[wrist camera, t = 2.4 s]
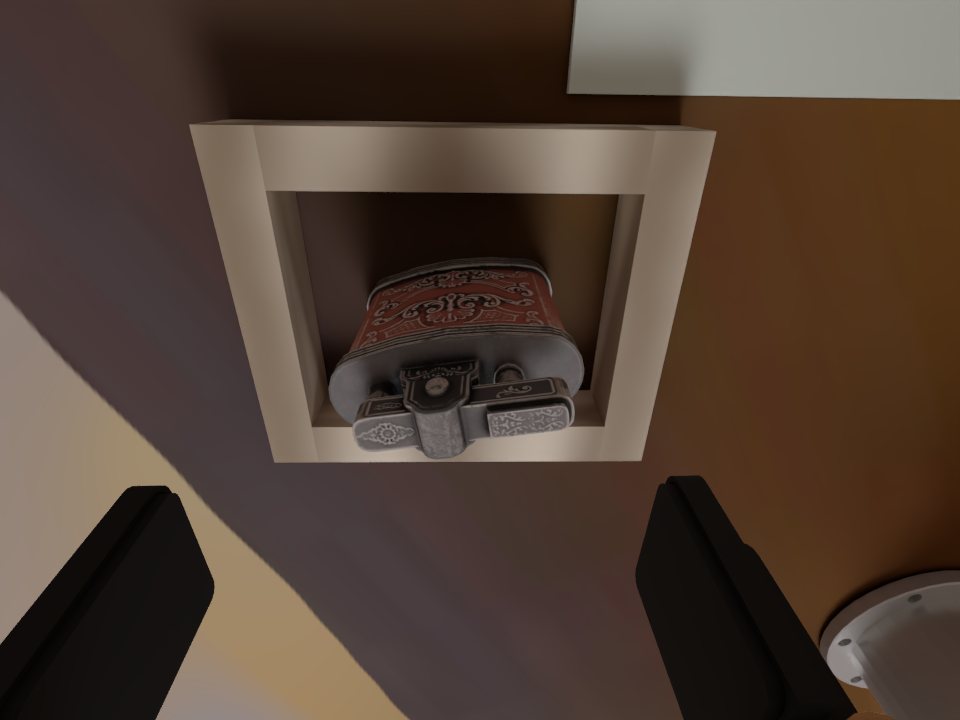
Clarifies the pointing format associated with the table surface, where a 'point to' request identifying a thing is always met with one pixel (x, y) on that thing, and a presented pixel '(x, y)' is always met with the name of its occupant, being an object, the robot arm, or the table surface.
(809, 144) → the table surface
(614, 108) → the table surface
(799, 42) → the mat
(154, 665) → the robot arm
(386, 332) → the lighter
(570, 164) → the slot holder
